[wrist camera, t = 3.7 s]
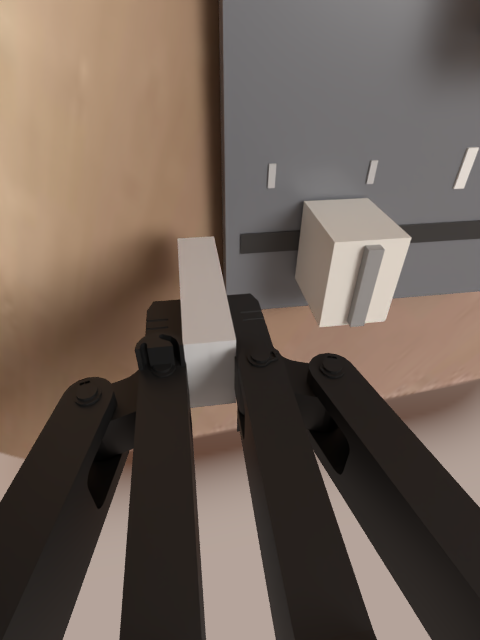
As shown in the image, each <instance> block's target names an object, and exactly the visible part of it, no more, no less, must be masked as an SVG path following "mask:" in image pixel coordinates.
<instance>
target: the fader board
mask: <svg viewBox="0 0 480 640" xmlns="http://www.w3.org/2000/svg"><path fill="white" fill-rule="evenodd" d="M219 45H220V103H221V161H222V219H223V276H224V286H225V290H226V295H236V294H249V293H250V294H252V295H253V296H254V297H255V298H256V299H257V300H258V301H259V304H260V307H261V309H271V308H283V307H296V306H308V303H307V301H306V299H305V297H304V295H303V293H302V291H301V289H300V287H299V285H298V283H297V281H296V279H295V272H296V264H297V256H298V247H299V239H300V230H301V222H302V213H303V205H304V201H315V200H336V199H357V198H368V199H370V200H371V201H372V202H373V203H374V204H375V205H376V206H377V207H378V208H379V209H381V210H382V211H383V212H384V213H385V214H386V215H387V216H388V217H389V218H391V219H392V220H393V221H394V222H395V223H396V224H397V225H398V226H399V227H401V228H402V229H403V230H404V231H405V232H406V233H407V234H408V235H409V236H410V237H412V238H411V241H410V245H409V248H408V251H407V254H406V257H405V260H404V263H403V267H402V270H401V273H400V276H399V279H398V282H397V286H396V289H395V292H394V295H393V298H404V297H416V296H428V295H441V294H453V293H465V292H477V291H480V0H219Z"/></svg>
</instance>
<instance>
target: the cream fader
mask: <svg viewBox="0 0 480 640" xmlns="http://www.w3.org/2000/svg"><path fill="white" fill-rule="evenodd" d="M411 238H412V237H410V236H409V235H408V234H407V233H406V232H405V231H404V230H403V229H402V228H401V227H399V226H398V225H397V224H396V223H395V222H394V221H393V220H392V219H391V218H389V217H388V216H387V215H386V214H385V213H384V212H383V211H382V210H381V209H379V208H378V207H377V206H376V205H375V204H374V203H373V202H372V201H371V200H370V199H368V198H357V199H336V200H315V201H304V205H303V213H302V222H301V230H300V239H299V247H298V256H297V264H296V272H295V279H296V281H297V283H298V285H299V287H300V289H301V291H302V293H303V295H304V297H305V299H306V301H307V303H308V305H309V307H310V309H311V311H312V313H313V315H314V317H315V319H316V321H317V323H318V326H319V327H327V326H338V325H349V326H350V327H356V326H364V324H365V323H371V322H382V321H385V320H386V317H387V314H388V311H389V308H390V304H391V301H392V298H393V295H394V292H395V289H396V286H397V282H398V279H399V276H400V273H401V270H402V267H403V263H404V260H405V257H406V254H407V251H408V248H409V245H410V241H411Z"/></svg>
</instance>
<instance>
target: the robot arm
mask: <svg viewBox="0 0 480 640" xmlns="http://www.w3.org/2000/svg"><path fill="white" fill-rule="evenodd" d="M178 258H179V278H180V299H181V300H169V301H155V302H153V303H152V304H151V306H150V307H149V309H148V310H147V319H146V321H147V322H146V334H145V337H143V338H142V339H141V340H140V341H139V342H138V343H137V345H136V347H135V353H136V358H137V362H138V367H139V370H138V371H137V372H136V373H134V374H133V375H131V376H130V377H128V378H126V379H123V380H121V381H118V382H115V383H112V384H111V383H110V382H109V381H107V380H106V379H104V378H99V377H89V378H85V379H82V380H79V381H77V382H76V383H74V384H73V385H71V386H70V387H69V388H68V389H67V390H66V391H65V393H64V394H63V396H62V397H61V399H60V401H59V403H58V404H57V406H56V408H55V409H54V411H53V413H52V415H51V416H50V418H49V420H48V421H47V423H46V425H45V427H44V428H43V430H42V432H41V433H40V435H39V437H38V439H37V440H36V442H35V444H34V445H33V447H32V449H31V451H30V452H29V454H28V456H27V457H26V459H25V461H24V463H23V464H22V466H21V468H20V470H19V471H18V473H17V475H16V476H15V478H14V480H13V481H12V483H11V485H10V487H9V488H8V490H7V492H6V494H5V495H4V497H3V499H2V500H1V502H0V640H63V637H64V634H65V631H66V628H67V626H68V623H69V620H70V617H71V614H72V611H73V609H74V606H75V603H76V600H77V597H78V595H79V592H80V589H81V586H82V583H83V580H84V578H85V575H86V572H87V569H88V566H89V564H90V561H91V558H92V555H93V552H94V549H95V547H96V544H97V541H98V538H99V535H100V533H101V530H102V527H103V524H104V521H105V518H106V516H107V513H108V510H109V507H110V504H111V502H112V499H113V496H114V493H115V490H116V487H117V485H118V481H119V479H120V476H121V473H122V471H123V468H124V465H125V462H126V459H127V456H128V454H129V450H131V449H133V448H134V449H133V463H132V476H131V477H132V478H131V491H130V504H129V517H128V518H129V519H128V532H127V545H126V558H125V573H124V586H123V599H122V613H121V628H120V640H206V635H205V634H206V633H205V618H204V604H203V603H204V602H203V588H202V573H201V558H200V557H201V556H200V542H199V527H198V511H197V496H196V480H195V465H194V451H193V434H192V420H191V409H190V408H193V407H202V406H211V405H220V404H229V403H236V400H237V406H238V409H237V431H240V434H241V440H242V446H243V451H244V458H245V463H246V469H247V475H248V481H249V486H250V493H251V498H252V504H253V510H254V515H255V521H256V527H257V532H258V539H259V544H260V550H261V556H262V562H263V568H264V573H265V579H266V585H267V591H268V597H269V602H270V608H271V614H272V619H273V625H274V631H275V637H276V640H377V639H376V636H375V634H374V631H373V628H372V625H371V622H370V619H369V616H368V613H367V610H366V607H365V604H364V602H363V599H362V595H361V592H360V589H359V586H358V583H357V580H356V577H355V574H354V572H353V568H352V565H351V562H350V559H349V557H348V554H347V550H346V547H345V544H344V541H343V538H342V535H341V533H340V529H339V526H338V524H337V520H336V517H335V514H334V511H333V508H332V506H331V502H330V499H329V496H328V493H327V490H326V488H325V485H324V481H323V478H322V475H321V473H320V470H319V467H318V464H317V461H316V458H315V455H314V452H315V454H316V455H317V457H318V458H319V460H320V462H321V463H322V465H323V466H324V468H325V470H326V471H327V473H328V474H329V476H330V478H331V479H332V481H333V482H334V484H335V486H336V487H337V489H338V490H339V492H340V493H341V495H342V497H343V498H344V500H345V501H346V503H347V505H348V506H349V508H350V509H351V511H352V513H353V514H354V516H355V518H356V519H357V521H358V522H359V524H360V525H361V527H362V529H363V530H364V532H365V534H366V535H367V537H368V538H369V540H370V542H371V543H372V545H373V546H374V548H375V550H376V551H377V553H378V554H379V556H380V557H381V559H382V561H383V562H384V564H385V566H386V567H387V569H388V570H389V572H390V573H391V575H392V577H393V578H394V580H395V582H396V583H397V585H398V586H399V588H400V590H401V591H402V593H403V594H404V596H405V597H406V599H407V600H408V602H409V604H410V605H411V607H412V609H413V610H414V612H415V614H416V615H417V617H418V618H419V620H420V622H421V623H422V625H423V626H424V628H425V630H426V631H427V633H428V634H429V636H430V637H431V639H432V640H480V507H479V506H478V505H477V504H476V503H475V502H474V501H473V500H472V498H471V497H470V496H469V495H468V494H467V493H466V492H465V491H464V490H463V488H462V487H461V486H460V485H459V484H458V483H457V482H456V480H455V479H454V478H453V477H452V476H451V475H450V474H449V473H448V471H447V470H446V469H445V468H444V467H443V466H442V465H441V464H440V462H439V461H438V460H437V459H436V458H435V457H434V456H433V455H432V453H431V452H430V451H429V450H428V449H427V448H426V447H425V446H424V445H423V443H422V442H421V441H420V440H419V439H418V438H417V437H416V435H415V434H414V433H413V432H412V431H411V430H410V429H409V428H408V426H407V425H406V424H405V423H404V422H403V421H402V420H401V419H400V417H399V416H398V415H397V414H396V413H395V412H394V411H393V410H392V408H391V407H390V406H389V405H388V404H387V403H386V402H385V401H384V399H383V398H382V397H381V396H380V395H379V394H378V393H377V392H376V390H375V389H374V388H373V387H372V386H371V385H370V384H369V383H368V382H367V380H366V379H365V378H364V377H363V376H362V375H361V374H360V373H359V371H358V370H357V369H356V368H355V367H354V366H353V365H352V364H351V363H350V362H349V361H348V360H347V359H345V358H344V357H342V356H339V355H337V354H331V353H325V354H319V355H317V356H315V357H313V358H312V360H311V361H310V362H309V363H303V362H296V361H292V360H289V359H286V358H284V357H283V356H281V355H280V353H279V351H278V350H276V349H275V348H274V347H273V345H272V342H271V338H270V335H269V332H268V329H267V326H266V323H265V320H264V317H263V314H262V312H261V307H260V304H259V301H258V300H257V299H256V298H255V297H254V296H253V295H252V294H250V293H249V294H236V295H226V290H225V286H224V281H223V276H222V272H221V267H220V262H219V258H218V253H217V248H216V244H215V239H214V236H212V237H194V238H178ZM313 450H314V452H313Z"/></svg>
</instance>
